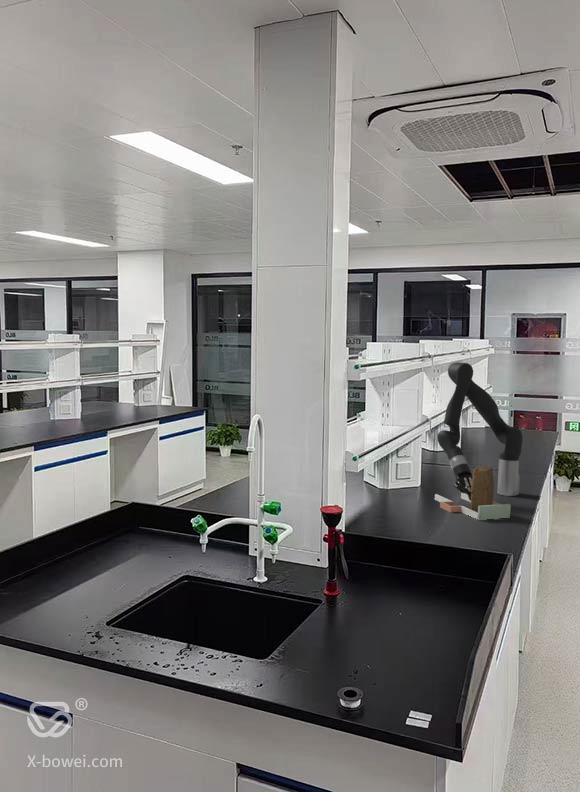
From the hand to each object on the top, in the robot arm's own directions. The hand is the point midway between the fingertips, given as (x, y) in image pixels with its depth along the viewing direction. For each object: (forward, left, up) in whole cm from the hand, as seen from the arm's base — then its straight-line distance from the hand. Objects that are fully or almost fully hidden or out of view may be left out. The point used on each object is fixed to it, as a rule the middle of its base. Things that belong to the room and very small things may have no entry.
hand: (473, 500), depth 294 cm
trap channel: (0, -3, -4) cm, 5 cm away
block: (-1, +4, -5) cm, 6 cm away
